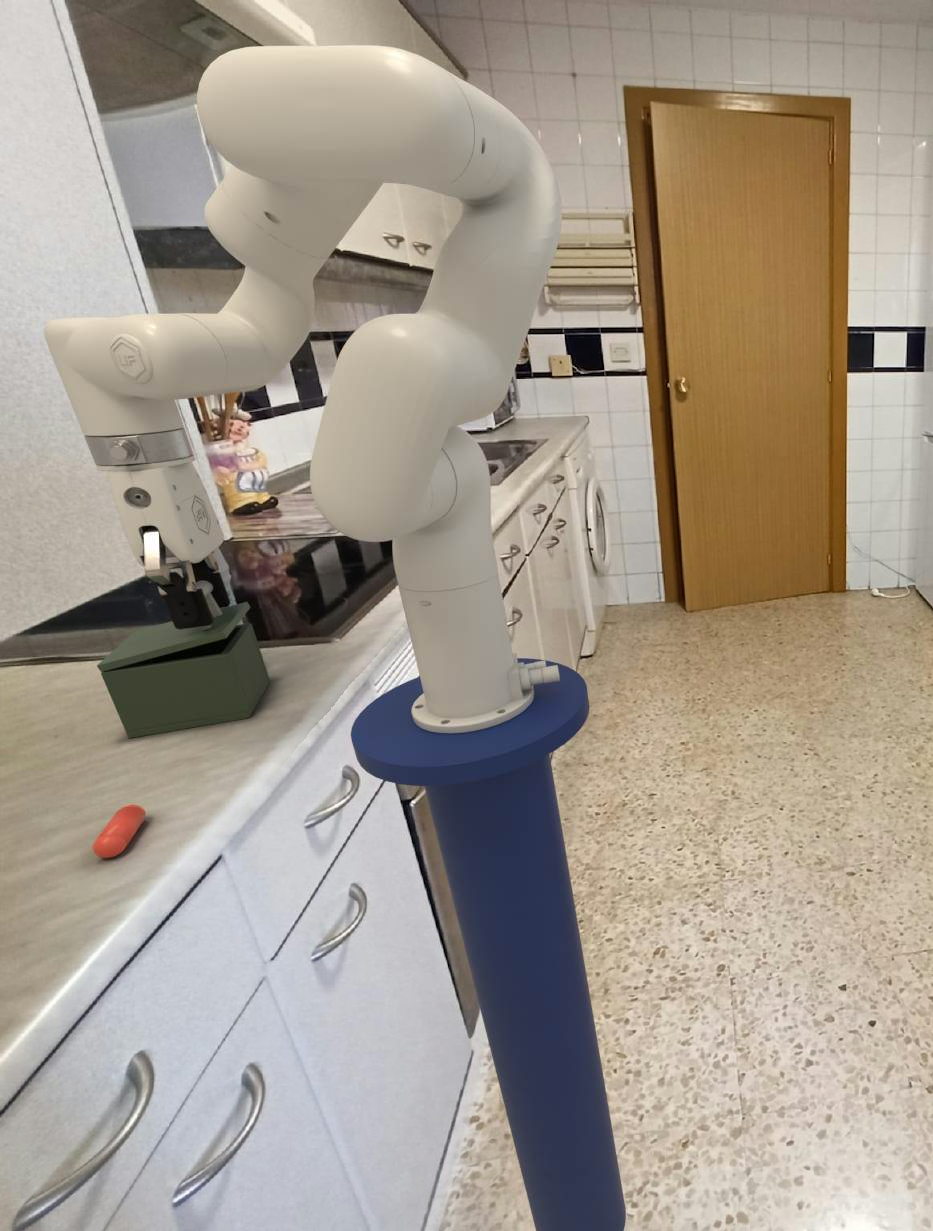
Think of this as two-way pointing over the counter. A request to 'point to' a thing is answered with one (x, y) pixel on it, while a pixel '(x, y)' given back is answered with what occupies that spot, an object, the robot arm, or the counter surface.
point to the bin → (190, 685)
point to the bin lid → (175, 634)
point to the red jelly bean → (119, 831)
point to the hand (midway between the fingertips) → (204, 615)
